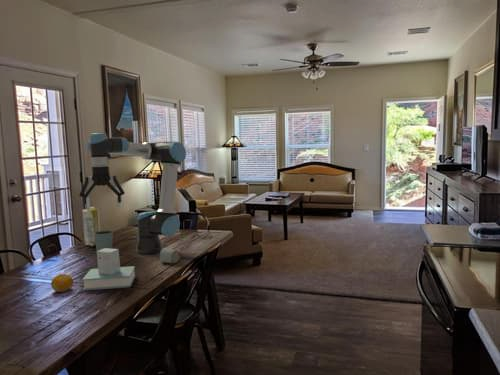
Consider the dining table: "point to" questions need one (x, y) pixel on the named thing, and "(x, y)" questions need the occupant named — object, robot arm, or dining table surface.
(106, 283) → the book
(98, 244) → the teal cup
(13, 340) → the dining table surface
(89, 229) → the juice carton
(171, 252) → the ceramic mug
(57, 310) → the dining table surface
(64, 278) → the fruit
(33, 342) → the dining table surface
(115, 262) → the small box
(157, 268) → the dining table surface
